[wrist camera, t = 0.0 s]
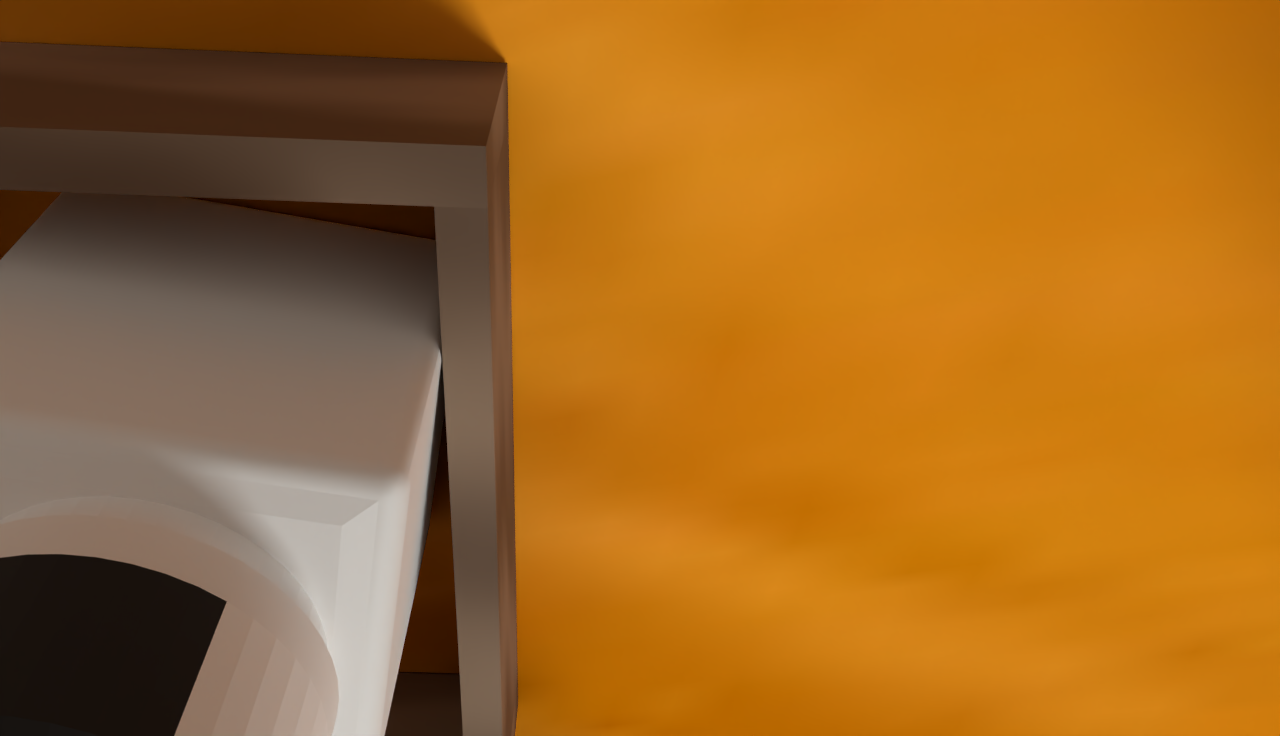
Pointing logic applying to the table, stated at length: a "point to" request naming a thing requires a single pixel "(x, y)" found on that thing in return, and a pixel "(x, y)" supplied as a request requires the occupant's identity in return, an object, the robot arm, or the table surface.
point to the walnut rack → (338, 173)
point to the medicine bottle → (211, 468)
